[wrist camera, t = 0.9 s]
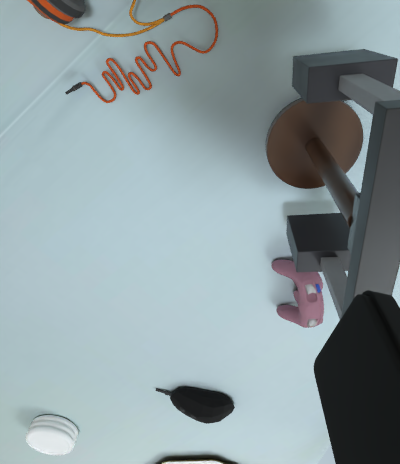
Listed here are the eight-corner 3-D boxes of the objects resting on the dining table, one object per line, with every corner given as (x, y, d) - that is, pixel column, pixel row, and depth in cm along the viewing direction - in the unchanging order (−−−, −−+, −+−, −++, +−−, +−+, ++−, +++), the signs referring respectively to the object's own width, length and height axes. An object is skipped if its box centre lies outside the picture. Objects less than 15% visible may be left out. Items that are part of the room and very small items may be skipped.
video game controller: (300, 300, 53) (332, 330, 47) (274, 312, 52) (303, 345, 46) (296, 247, 48) (331, 273, 42) (267, 259, 47) (300, 288, 41)
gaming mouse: (159, 378, 63) (155, 399, 60) (238, 395, 64) (238, 416, 61) (153, 398, 66) (149, 418, 63) (228, 413, 67) (228, 435, 64)
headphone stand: (366, 90, 35) (483, 158, 19) (353, 181, 41) (436, 295, 24) (265, 99, 36) (295, 170, 20) (265, 186, 42) (289, 299, 25)
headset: (365, 48, 30) (487, 83, 16) (340, 231, 40) (402, 354, 25) (293, 56, 31) (349, 95, 16) (286, 234, 40) (318, 355, 26)
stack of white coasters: (33, 434, 77) (26, 451, 74) (31, 409, 71) (22, 427, 69) (79, 442, 77) (73, 459, 74) (79, 418, 72) (73, 436, 69)
